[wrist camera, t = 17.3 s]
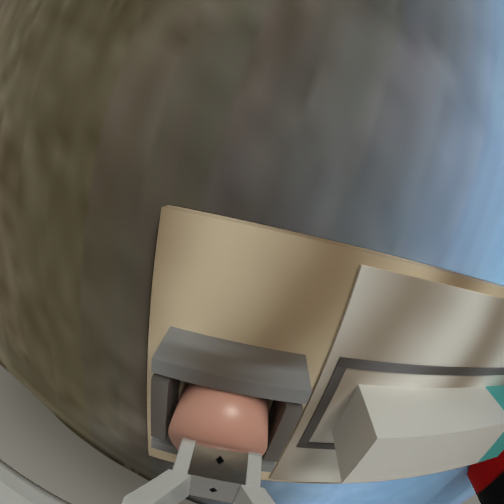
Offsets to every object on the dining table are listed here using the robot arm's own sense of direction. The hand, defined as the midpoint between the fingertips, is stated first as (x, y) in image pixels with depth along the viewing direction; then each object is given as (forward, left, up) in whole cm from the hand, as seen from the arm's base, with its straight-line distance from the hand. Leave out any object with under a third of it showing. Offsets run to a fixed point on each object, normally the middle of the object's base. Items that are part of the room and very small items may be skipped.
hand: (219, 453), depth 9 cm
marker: (-12, 0, -4) cm, 12 cm away
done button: (0, 0, -4) cm, 4 cm away
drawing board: (-8, 0, -5) cm, 9 cm away
